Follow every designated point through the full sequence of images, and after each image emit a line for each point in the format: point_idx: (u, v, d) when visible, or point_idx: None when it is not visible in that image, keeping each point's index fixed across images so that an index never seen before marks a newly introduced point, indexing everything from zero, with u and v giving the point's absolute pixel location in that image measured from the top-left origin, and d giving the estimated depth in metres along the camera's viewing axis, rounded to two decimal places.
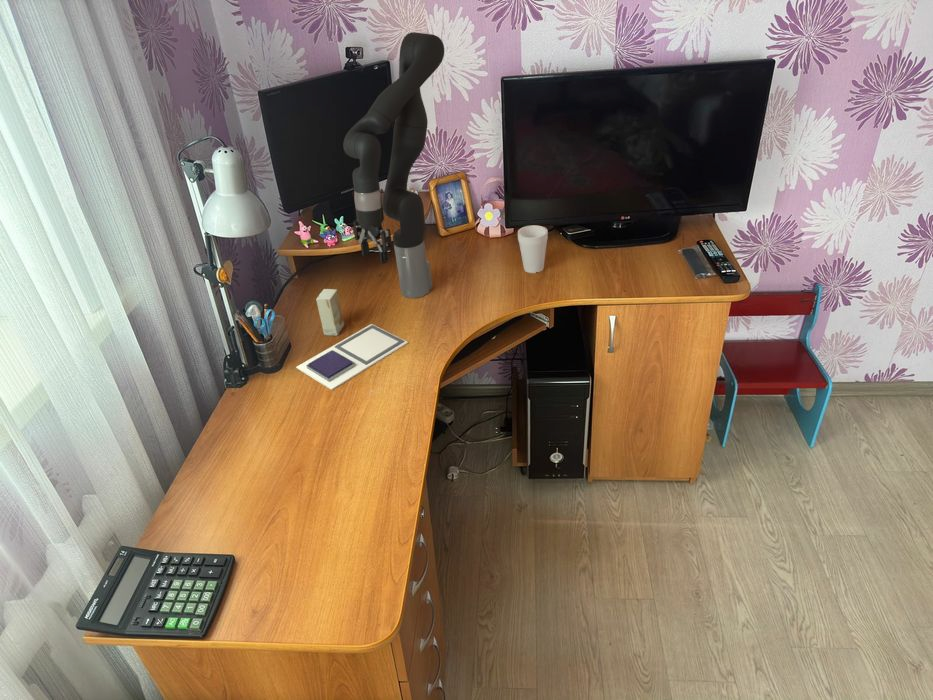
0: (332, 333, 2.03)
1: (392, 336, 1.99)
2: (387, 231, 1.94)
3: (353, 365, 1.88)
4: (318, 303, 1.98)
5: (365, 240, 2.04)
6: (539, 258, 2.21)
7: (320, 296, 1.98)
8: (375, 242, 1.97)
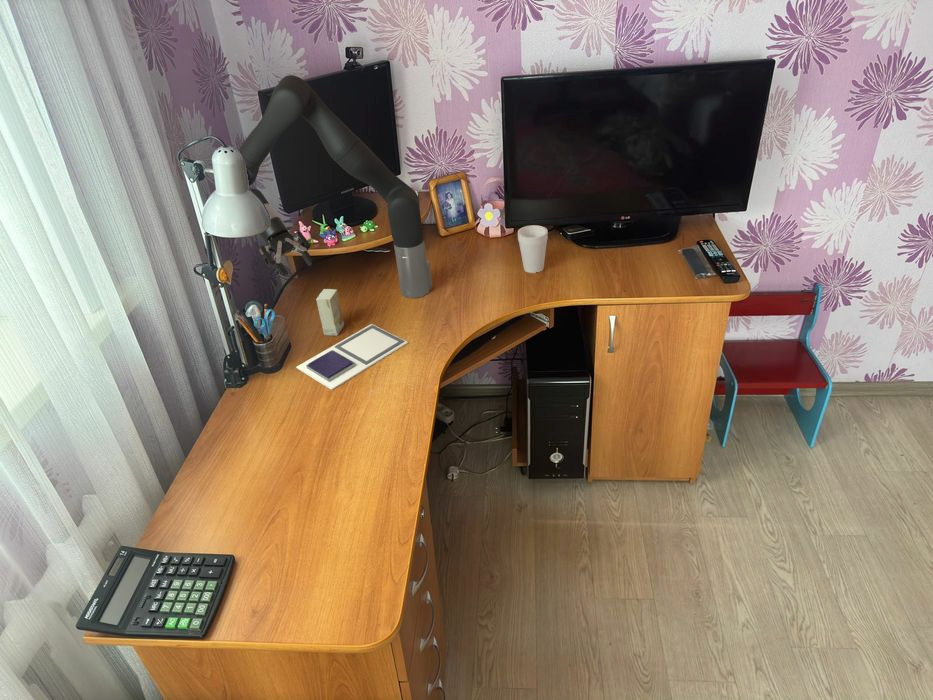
0: (332, 333, 2.03)
1: (392, 336, 1.99)
2: (260, 249, 1.99)
3: (353, 365, 1.88)
4: (318, 303, 1.98)
5: (302, 251, 2.05)
6: (539, 258, 2.21)
7: (320, 296, 1.98)
8: None
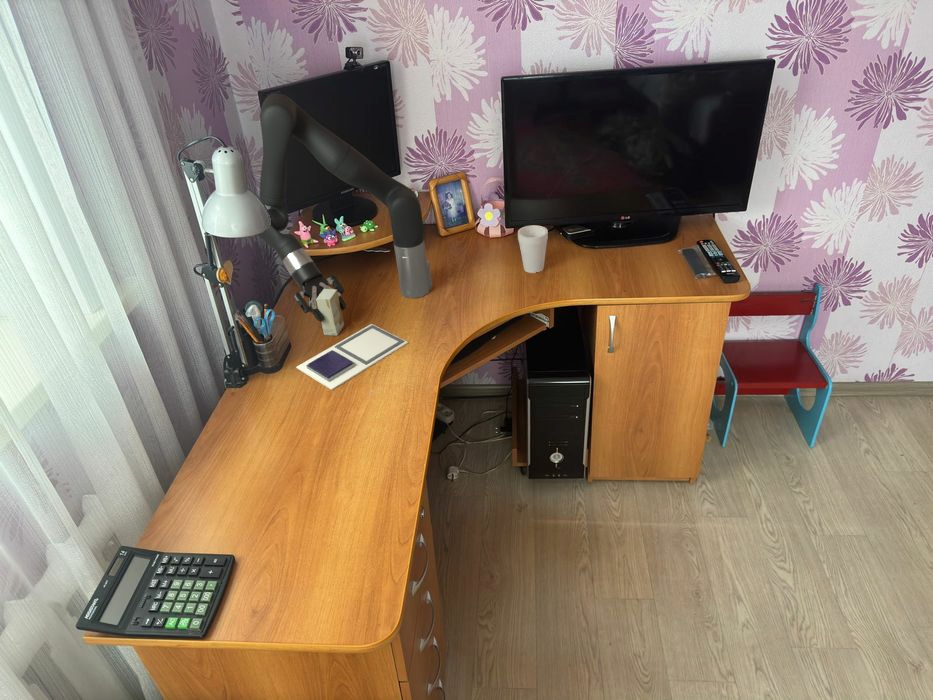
0: (332, 333, 2.03)
1: (392, 336, 1.99)
2: (295, 295, 1.98)
3: (353, 365, 1.88)
4: (318, 303, 1.98)
5: None
6: (539, 258, 2.21)
7: (320, 296, 1.98)
8: None
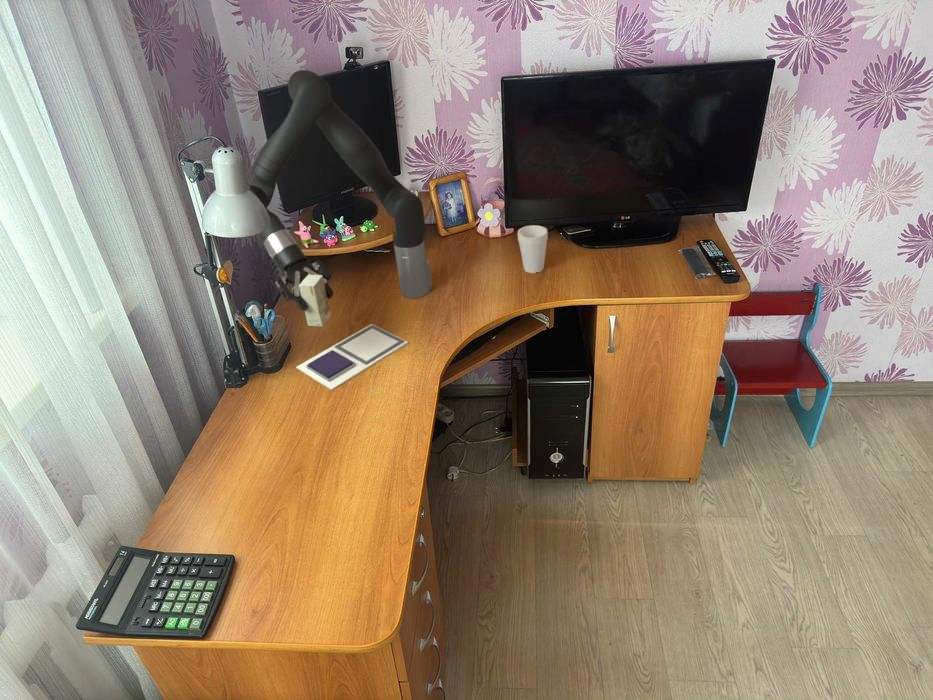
0: (317, 324, 1.83)
1: (392, 336, 1.99)
2: (276, 281, 1.78)
3: (353, 365, 1.88)
4: (301, 290, 1.78)
5: None
6: (539, 258, 2.21)
7: (303, 282, 1.79)
8: None
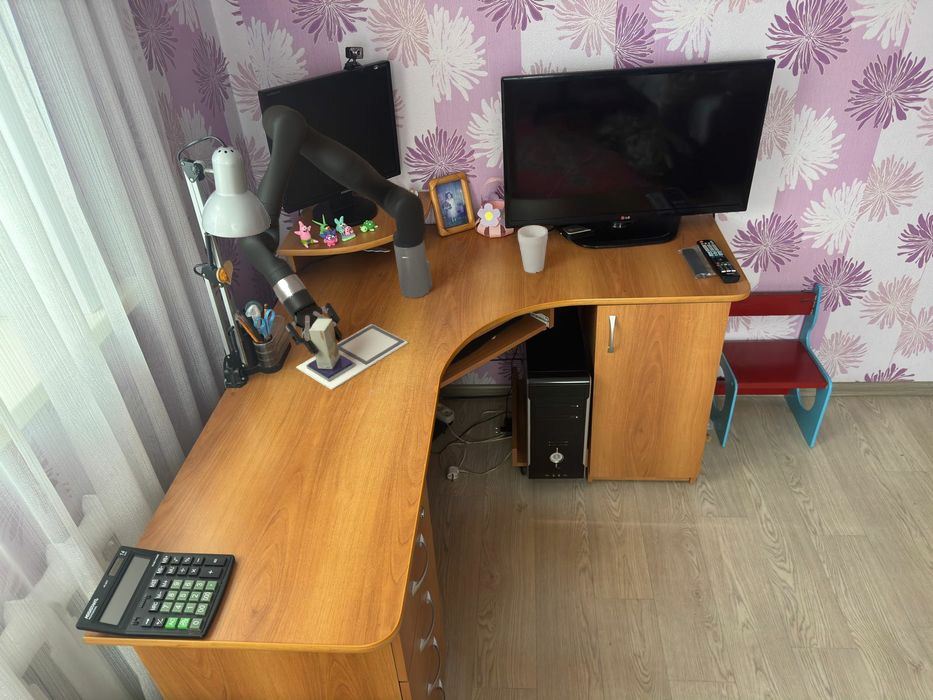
0: (327, 366, 1.86)
1: (392, 336, 1.99)
2: (286, 326, 1.81)
3: (353, 365, 1.88)
4: (311, 334, 1.81)
5: None
6: (539, 258, 2.21)
7: (313, 327, 1.81)
8: None
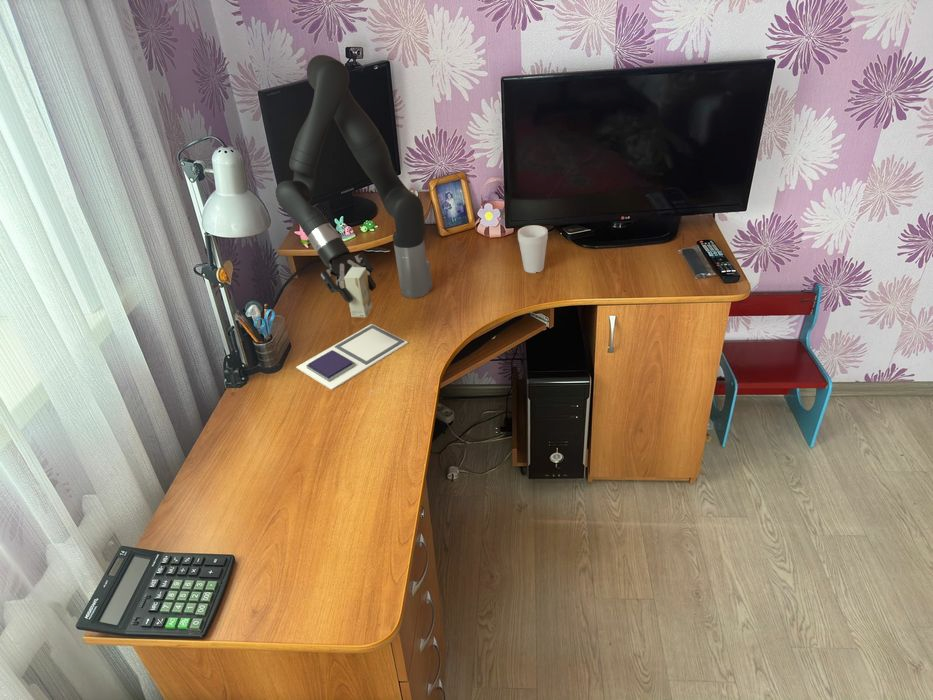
0: (360, 315, 1.88)
1: (392, 336, 1.99)
2: (321, 273, 1.83)
3: (353, 365, 1.88)
4: (346, 282, 1.83)
5: None
6: (539, 258, 2.21)
7: (348, 274, 1.83)
8: None
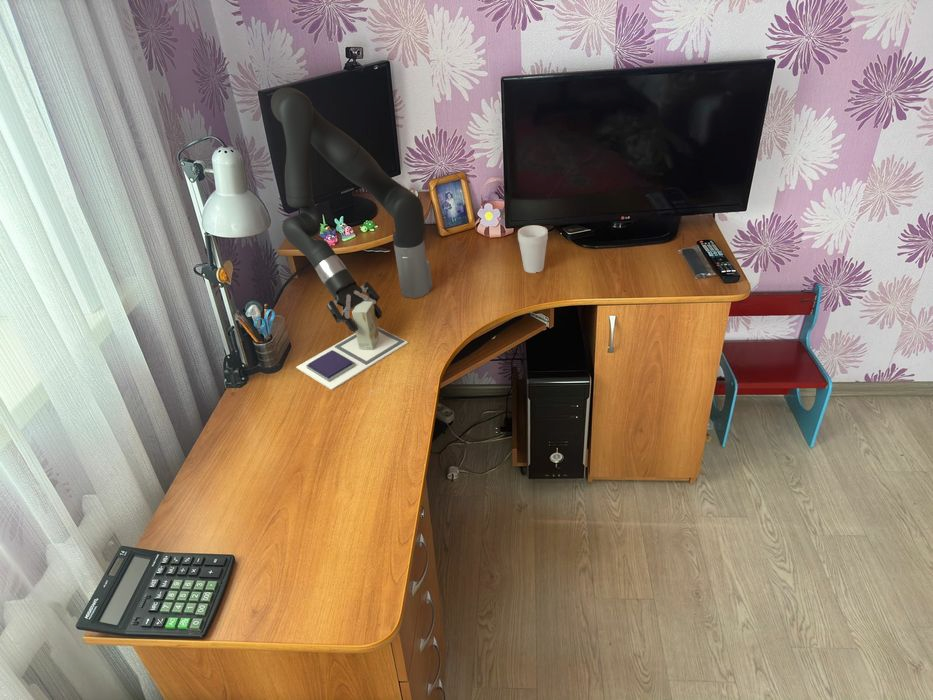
0: (367, 347, 1.94)
1: (392, 336, 1.99)
2: (328, 303, 1.88)
3: (353, 365, 1.88)
4: (354, 316, 1.90)
5: None
6: (539, 258, 2.21)
7: (356, 309, 1.90)
8: None
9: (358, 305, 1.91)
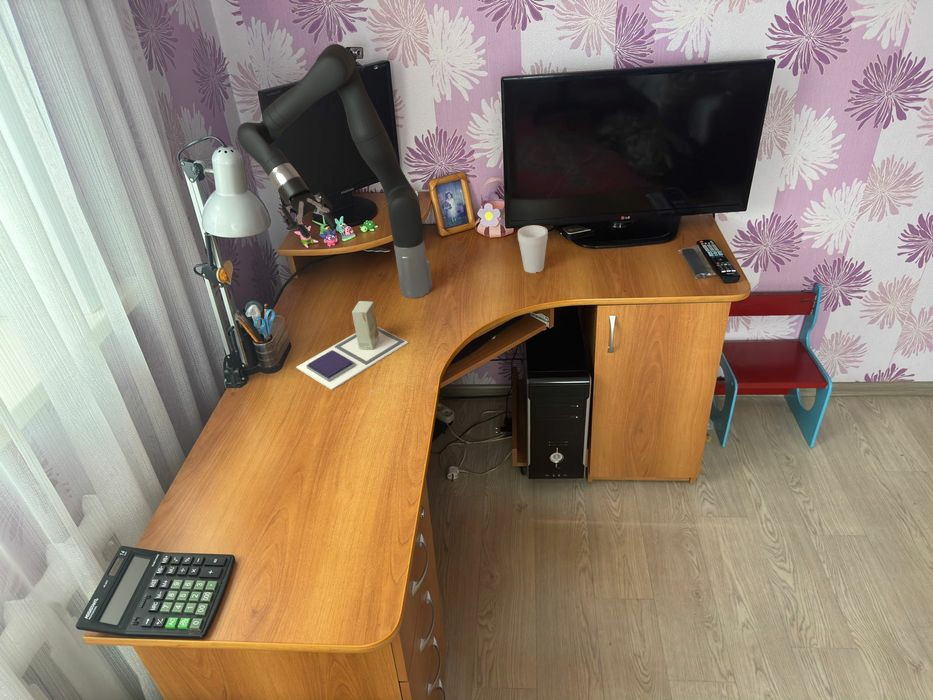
0: (367, 347, 1.94)
1: (392, 336, 1.99)
2: (281, 209, 1.91)
3: (353, 365, 1.88)
4: (354, 316, 1.90)
5: (324, 212, 1.97)
6: (539, 258, 2.21)
7: (356, 309, 1.90)
8: None
9: (358, 305, 1.91)
